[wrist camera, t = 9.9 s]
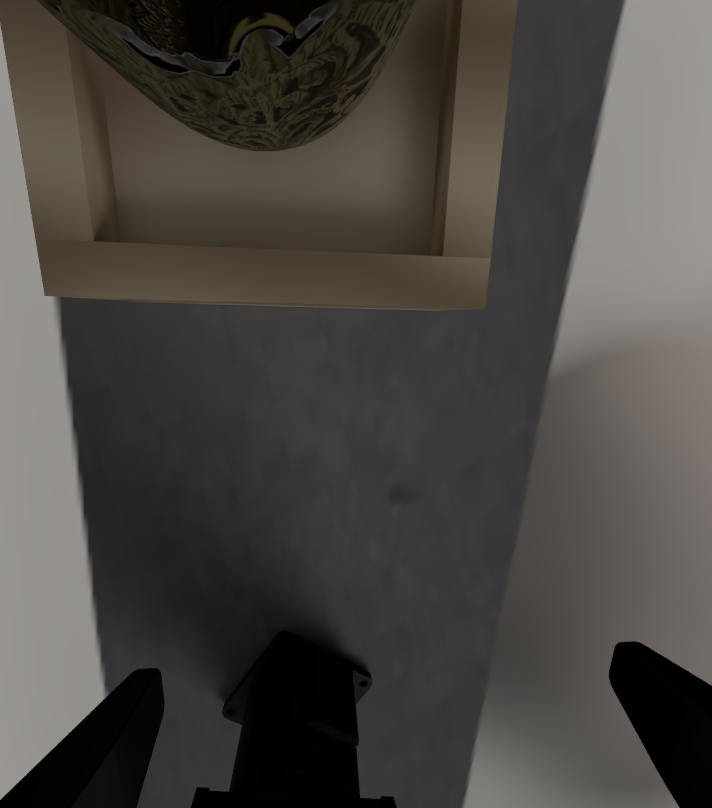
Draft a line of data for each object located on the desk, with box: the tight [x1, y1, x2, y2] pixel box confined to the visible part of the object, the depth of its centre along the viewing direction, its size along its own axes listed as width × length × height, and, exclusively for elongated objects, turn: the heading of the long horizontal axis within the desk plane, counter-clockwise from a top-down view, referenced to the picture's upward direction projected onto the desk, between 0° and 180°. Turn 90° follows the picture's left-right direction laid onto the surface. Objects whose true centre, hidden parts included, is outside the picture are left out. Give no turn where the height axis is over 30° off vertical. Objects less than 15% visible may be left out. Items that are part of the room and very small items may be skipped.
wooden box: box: [0, 0, 518, 311], centre depth 12 cm, size 13×13×6 cm
